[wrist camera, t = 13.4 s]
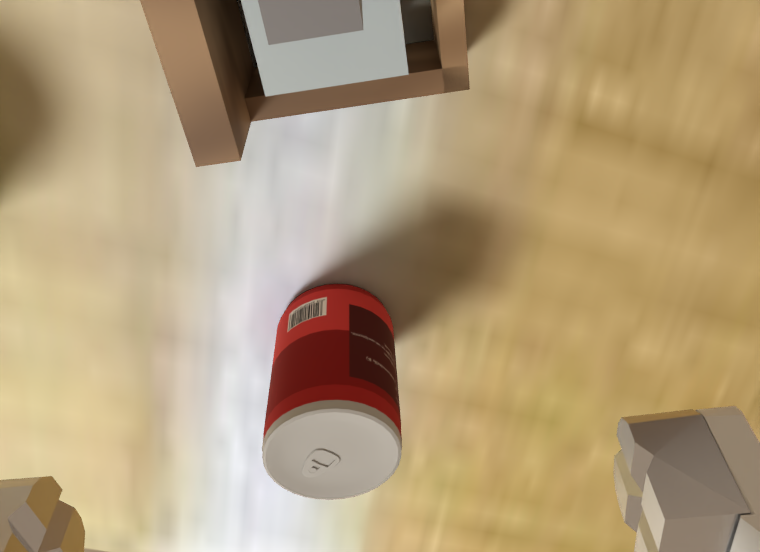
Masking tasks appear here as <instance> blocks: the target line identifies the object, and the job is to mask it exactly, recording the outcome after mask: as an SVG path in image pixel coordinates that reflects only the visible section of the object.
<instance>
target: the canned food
mask: <svg viewBox="0 0 760 552" xmlns="http://www.w3.org/2000/svg"><path fill="white" fill-rule="evenodd" d="M401 449H402V437H401V419H400V407H399V394H398V382H397V370H396V357H395V345H394V333H393V325H392V321H391V318H390V316H389V314H388V313H387V311H386V309H385V307H384V306H383V304H382V303H381V302H380V301H379V300H378V299H377V297H375V296H374V295H372V294H371V293H370V292H368V291H366V290H364V289H361V288H359V287H355V286H351V285H345V284H329V285H323V286H319V287H315V288H313V289H310V290H308V291H306V292H304V293H302V294H301V295H299V296H298V297H297V298H296V299H294V300H293V301H292V302H291V303H290V305H289V306H288V308H287V309H286V310H285V312H284V314H283V315H282V317H281V319H280V322H279V324H278V328H277V335H276V343H275V351H274V358H273V366H272V373H271V381H270V389H269V396H268V404H267V411H266V419H265V427H264V438H263V446H262V451H263V456H262V458H263V464H264V467H265V469H266V471H267V473H268V475H269V476H270V477H271V478H272V479H273V480H274V482H276V483H277V484H278V485H280V486H281V487H282V488H284V489H286V490H288V491H290V492H292V493H294V494H297V495H300V496H304V497H308V498H314V499H325V500H333V499H344V498H349V497H355V496H358V495H361V494H364V493H367V492H369V491H371V490H373V489H375V488H377V487H378V486H380V485H381V484H383V483H384V482H385V481H387V480H388V479H389V478H390V477H391V476H392V474H393V473H394V472H395V470H396V469H397V467H398V465H399V462H400V459H401Z"/></svg>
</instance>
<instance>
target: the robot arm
mask: <svg viewBox="0 0 760 552" xmlns="http://www.w3.org/2000/svg"><path fill="white" fill-rule="evenodd" d="M617 437H618V440H619V443H620V446H621V448H622V449H621V450H620V451H619V452H618V453H617V454H616V455H615V458H614V479H615V489H616V494H617V498H618V502H619V506H620V510H621V513H622V516H623V519H624V522H625V523H626V524H627V525H628V526H630V527H631V528H632V529H633V530H634V531H636V532H637V536H636V543H635V550H634V552H760V442H759V441H758V439H757V437H756V435H755V434H754V432H753V430H752V428H751V427H750V425H749V423H748V421H747V420H746V418H745V416H744V414H743V412H742V411H741V410H739V409H738V408H737V407H736V406H728V407H718V408H709V409H699V410H693V409H691V410H682V411H673V412H665V413H656V414H647V415H638V416H630V417H622V418H621V419H620V421H619V423H618V430H617ZM61 492H62V489H61V487H60V486H59V485H58V484H57V482H56V481H55V480H54V478H53V477H52V476H49V477H35V478H22V479H8V480H0V552H84V540H85V530H84V526H83V523H82V519H81V517H80V515H79V514H78V512H77V511H76V509H75V508H74V507H72V506H70V505H68V504H66V503H64V502H62V501H60V500H59V497H60V494H61Z"/></svg>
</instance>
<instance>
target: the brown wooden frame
mask: <svg viewBox="0 0 760 552" xmlns="http://www.w3.org/2000/svg"><path fill="white" fill-rule="evenodd" d="M140 1H141V4H142V7H143V10H144V13H145V16H146V19H147V22H148V25H149V28H150V31H151V34H152V37H153V40H154V43H155V46H156V49H157V52H158V55H159V58H160V61H161V64H162V67H163V70H164V73H165V76H166V79H167V82H168V85H169V88H170V91H171V93H172V96H173V99H174V102H175V105H176V108H177V111H178V114H179V117H180V120H181V123H182V126H183V129H184V132H185V135H186V138H187V141H188V144H189V147H190V150H191V153H192V156H193V159H194V162H195V165H196V167H199V166H206V165H213V164H220V163H227V162H234V161H241V158H242V154H243V150H244V146H245V142H246V139H247V135H248V131H249V127H250V123H251V122H252V121H258V120H265V119H272V118H279V117H286V116H292V115H299V114H306V113H313V112H319V111H326V110H333V109H340V108H346V107H353V106H360V105H367V104H374V103H380V102H387V101H394V100H401V99H407V98H414V97H421V96H428V95H434V94H441V93H448V92H455V91H461V90H468V89H470V88H469V73H468V58H467V43H466V28H465V13H464V0H430V3H431V13H432V24H433V34H434V40H431V41H425V42H418V43H412V44H405V49H406V57H407V65H408V73H409V75H403V76H396V77H390V78H383V79H377V80H370V81H364V82H357V83H351V84H344V85H338V86H331V87H325V88H318V89H312V90H305V91H299V92H292V93H286V94H279V95H273V96H266V97H265V93H264V89H263V85H262V81H261V77H260V73H259V69H258V67H254V66H253V62H252V58H251V54H250V50H249V46H248V43H247V39H246V35H245V31H244V27H243V23H242V19H241V15H240V11H239V7H238V4H237V0H140Z"/></svg>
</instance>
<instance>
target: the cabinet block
mask: <svg viewBox="0 0 760 552" xmlns="http://www.w3.org/2000/svg"><path fill="white" fill-rule="evenodd" d="M241 3H242V7H243V11H244V15H245V19H246V23H247V26H248V30H249V34H250V38H251V42H252V46H253V50H254V54H255V58H256V62H257V65H258V69H259V73H260V77H261V81H262V85H263V89H264V93H265V97H266V96H273V95H279V94H286V93H292V92H299V91H305V90H312V89H318V88H325V87H331V86H338V85H344V84H351V83H357V82H364V81H370V80H377V79H383V78H390V77H396V76H403V75H409V73H408V65H407V57H406V49H405V41H404V29H403V21H402V13H401V5H400V0H241Z"/></svg>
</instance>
